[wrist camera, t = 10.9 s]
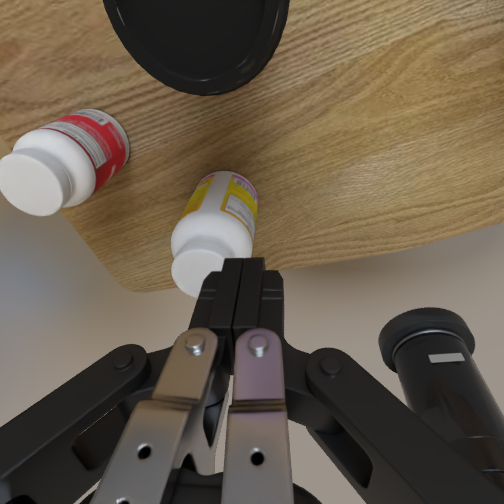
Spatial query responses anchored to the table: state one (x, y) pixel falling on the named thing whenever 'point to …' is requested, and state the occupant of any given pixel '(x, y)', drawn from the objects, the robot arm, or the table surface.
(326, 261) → the table surface
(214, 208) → the supplement bottle
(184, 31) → the coffee cup
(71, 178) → the pill bottle
